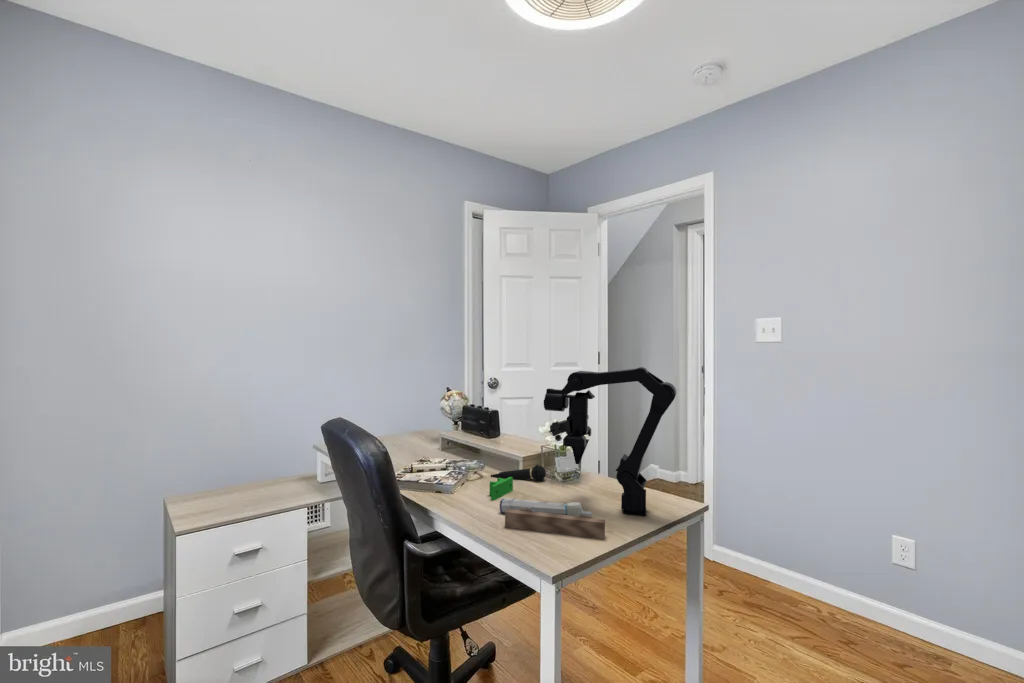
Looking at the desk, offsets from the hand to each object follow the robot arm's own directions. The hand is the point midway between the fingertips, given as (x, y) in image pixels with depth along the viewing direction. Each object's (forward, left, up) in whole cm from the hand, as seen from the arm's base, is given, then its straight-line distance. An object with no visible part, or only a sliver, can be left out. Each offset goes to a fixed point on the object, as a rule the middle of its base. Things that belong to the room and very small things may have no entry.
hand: (577, 463), depth 147 cm
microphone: (+23, -19, -12) cm, 33 cm away
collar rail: (+3, +23, -12) cm, 26 cm away
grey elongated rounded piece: (+8, +15, -12) cm, 21 cm away
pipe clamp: (+25, -1, -12) cm, 28 cm away
